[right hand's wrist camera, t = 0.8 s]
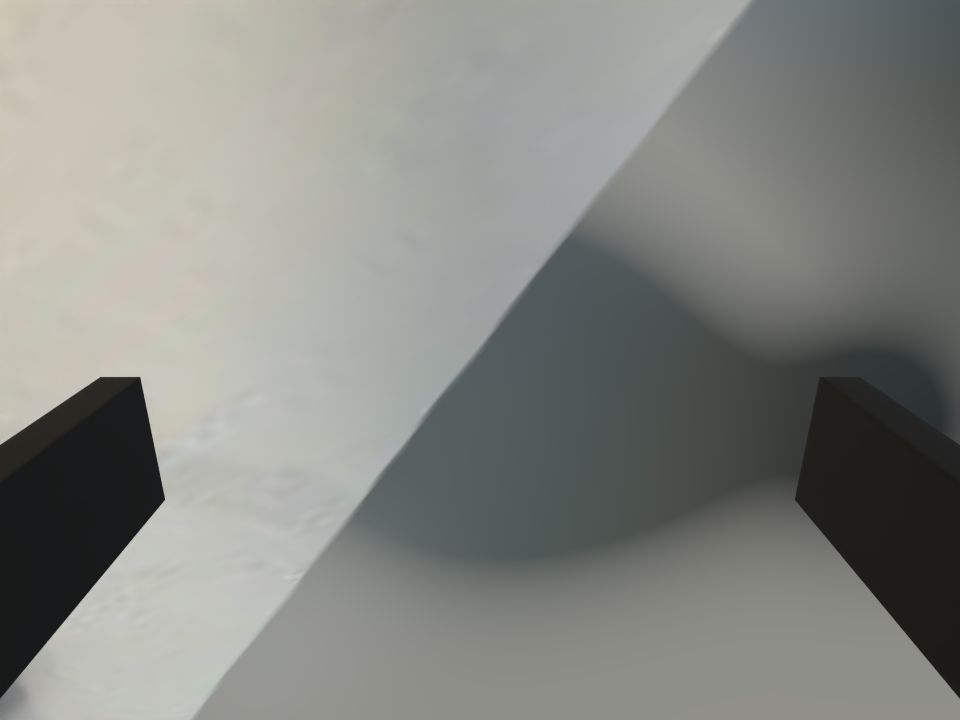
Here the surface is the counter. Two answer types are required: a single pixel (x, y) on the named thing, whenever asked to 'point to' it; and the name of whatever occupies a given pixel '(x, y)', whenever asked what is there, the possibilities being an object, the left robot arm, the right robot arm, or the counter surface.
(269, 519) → the counter surface
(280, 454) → the counter surface
